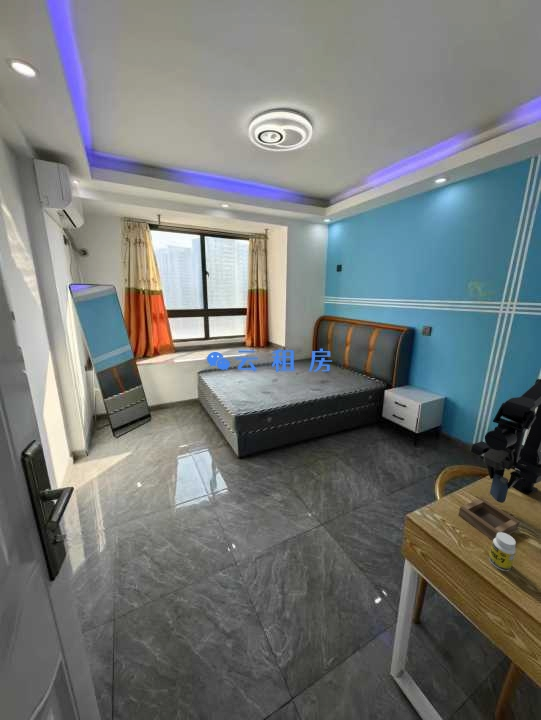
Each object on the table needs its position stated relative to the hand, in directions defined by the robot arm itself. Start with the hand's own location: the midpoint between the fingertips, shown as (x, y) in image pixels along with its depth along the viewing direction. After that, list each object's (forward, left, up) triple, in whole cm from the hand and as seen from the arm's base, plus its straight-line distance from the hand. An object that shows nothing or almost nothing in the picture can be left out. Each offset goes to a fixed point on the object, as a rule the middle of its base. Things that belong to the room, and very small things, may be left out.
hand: (500, 483), depth 94 cm
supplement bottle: (+20, +13, -10) cm, 26 cm away
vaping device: (0, 0, -6) cm, 6 cm away
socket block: (+9, +3, -9) cm, 13 cm away
